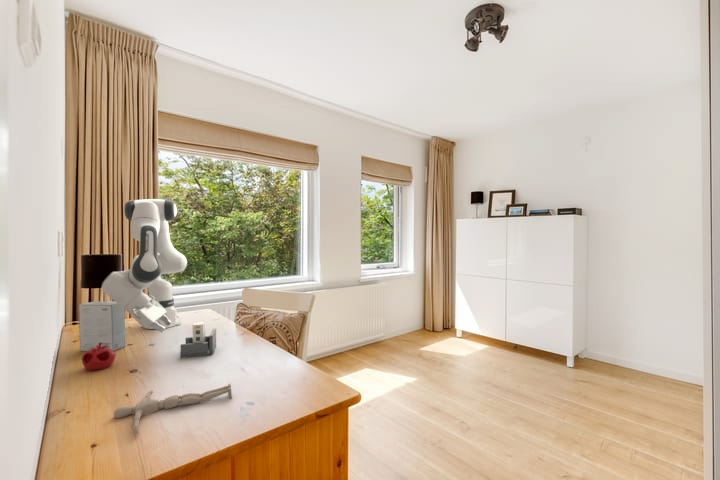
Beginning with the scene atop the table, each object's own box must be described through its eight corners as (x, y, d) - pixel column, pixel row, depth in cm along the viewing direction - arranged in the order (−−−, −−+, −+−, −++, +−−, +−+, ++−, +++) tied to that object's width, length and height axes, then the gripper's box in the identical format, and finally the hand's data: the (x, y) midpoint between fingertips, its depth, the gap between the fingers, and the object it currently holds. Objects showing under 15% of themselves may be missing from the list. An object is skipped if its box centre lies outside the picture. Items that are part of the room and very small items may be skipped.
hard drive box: (126, 346, 155) (125, 301, 154) (112, 352, 147) (111, 305, 147) (94, 345, 156) (93, 300, 156) (78, 351, 149) (77, 304, 148)
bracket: (186, 348, 151) (186, 330, 151) (216, 346, 154) (216, 328, 154) (180, 357, 140) (180, 337, 140) (212, 354, 143) (212, 335, 143)
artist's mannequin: (229, 381, 120) (125, 402, 108) (228, 369, 120) (124, 388, 108) (234, 419, 95) (100, 450, 83) (234, 403, 95) (99, 432, 83)
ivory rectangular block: (195, 347, 149) (194, 322, 149) (205, 347, 150) (204, 321, 150) (192, 351, 144) (192, 325, 144) (203, 350, 145) (203, 324, 145)
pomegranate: (90, 364, 134) (89, 340, 134) (120, 361, 137) (119, 337, 137) (76, 374, 125) (75, 347, 125) (108, 370, 127) (108, 345, 127)
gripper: (136, 304, 131) (166, 328, 134) (153, 294, 151) (178, 315, 154) (123, 317, 130) (153, 340, 133) (141, 305, 150) (167, 326, 153)
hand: (166, 327), depth 144 cm, fingers open, 8 cm apart
